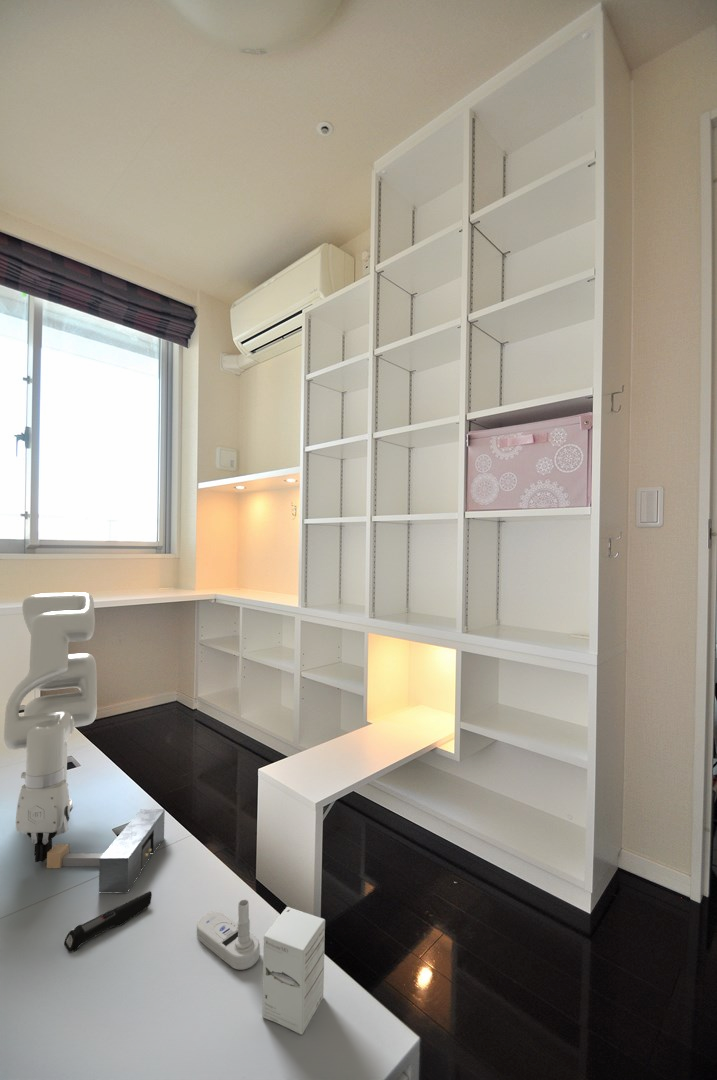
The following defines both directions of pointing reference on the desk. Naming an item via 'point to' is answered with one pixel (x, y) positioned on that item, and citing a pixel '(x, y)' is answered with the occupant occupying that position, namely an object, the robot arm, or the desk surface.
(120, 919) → the electric trimmer
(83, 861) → the lever
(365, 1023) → the desk surface
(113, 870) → the block
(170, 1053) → the desk surface
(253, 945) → the electronic device
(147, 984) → the desk surface
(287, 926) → the supplement box
